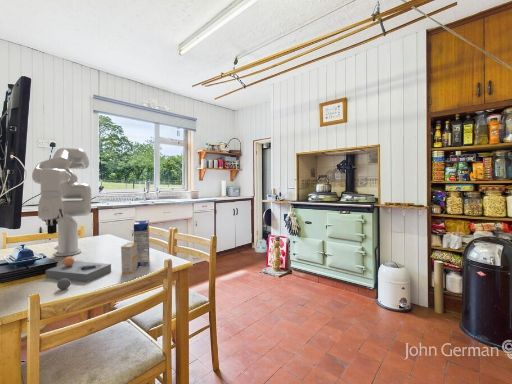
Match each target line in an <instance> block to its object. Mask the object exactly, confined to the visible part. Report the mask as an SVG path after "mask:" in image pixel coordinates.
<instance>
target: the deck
mask: <svg viewBox="0 0 512 384" xmlns="http://www.w3.org/2000/svg"><path fill="white" fill-rule="evenodd" d="M110 272H112V264H111V263H104V262H102V263H101V262H89V261H79V260H74V263H73V265H71V266H65V265H64V264H63V263H62V264H61V265H57V266H54V267H51V268H48V269H45V279H52V280H53V279H54V280H61V279H63V278H67V279H69V280H70V282H82V283H88V282H89V283H90V282H91V281H93V280H95V279H98V278H100V277H102V276H104V275H106V274H108V273H110Z"/></svg>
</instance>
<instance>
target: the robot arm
mask: <svg viewBox="0 0 512 384" xmlns="http://www.w3.org/2000/svg"><path fill="white" fill-rule="evenodd" d="M89 166H90V159H89V157H88V155H87V152H85V150H83V149H82V148H76V147H75V148H72V147H71V148H70V147H61V148H57V150H56V151H55V152H54V155H53V157H52V158H49V159H46V160H44V161H41V162H39V163H37V164H36V165H35V167H34V169H33V171H32V174H31V179H32V181H33V182H34V183H36V184H38V185H40V197H39V200H38V207H37V216H38V218H39V219H40V220H41V221H42V222H45V225H46V227H47V228H46V230H47V234H48V235H53V234H56V233H57V244H58V245H56V246H55V247H53V248H54V250H56V252H55V253H54V255H55V256H56V257H71V256H74V255H75V256H76V255H77V254H80V253H81V252H82V249H80V248H79V238H78V237H79V236H78V235H79V234H78V223H77V221H76V219H74V217H83V216H84V217H85V216H89V215H90V214H91V210H92V188H91V186H90V184H87V183H78V175H77V174H76V173H75V172H73V171H72V170H74V169H75V170H78V169H79V170H85V169H88V167H89Z"/></svg>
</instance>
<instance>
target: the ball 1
mask: <svg viewBox="0 0 512 384" xmlns="http://www.w3.org/2000/svg"><path fill="white" fill-rule="evenodd" d="M74 261H75V259H74V257H72V256H65V258H63V260H62V265H63V264H64V265H65V266H71V265H73V263H74Z"/></svg>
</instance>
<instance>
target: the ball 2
mask: <svg viewBox="0 0 512 384" xmlns="http://www.w3.org/2000/svg"><path fill="white" fill-rule="evenodd" d="M71 283H72V281H70V280H69V279H67V278H63V279H58V282H57V284H56V288H58V289H59V290H66V289H67V290H68V288H70V286H71Z"/></svg>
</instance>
